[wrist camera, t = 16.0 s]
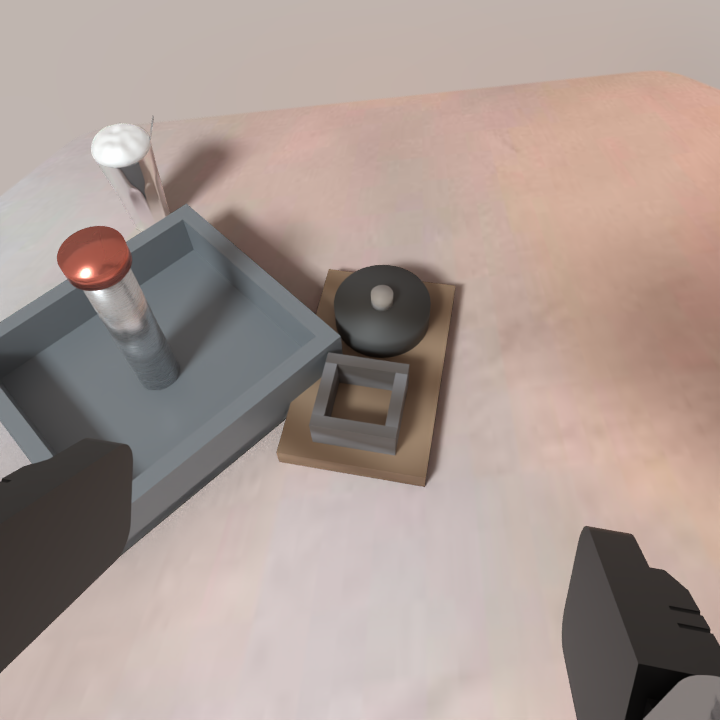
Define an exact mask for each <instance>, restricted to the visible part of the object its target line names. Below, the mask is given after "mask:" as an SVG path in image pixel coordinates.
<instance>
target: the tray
mask: <svg viewBox="0 0 720 720" xmlns="http://www.w3.org/2000/svg"><path fill="white" fill-rule="evenodd" d="M126 244H127V246H128V248H129V250H130V252H131V255H132V265H131V270H132V272H133V274H134V276H135V278H136V280H137V282H138V284H139V286H140V288H141V290H142V292H143V294H144V296H145V298H146V300H147V302H148V304H149V306H150V308H151V310H152V312H153V314H154V316H155V318H156V320H157V322H158V324H159V326H160V328H161V330H162V332H163V334H164V336H165V338H166V340H167V342H168V344H169V346H170V348H171V350H172V352H173V354H174V356H175V358H176V360H177V362H178V364H179V366H180V373H179V376H178V378H177V380H176V381H175V382H174V383H173V384H172V385H171V386H169V387H167V388H165V389H162V390H156V391H155V390H149V389H147V388H145V387H144V386H142V384H141V383H140V381H139V380H138V378H137V377H136V375H135V373H134V372H133V370H132V369H131V367H130V365H129V364H128V362H127V360H126V359H125V357H124V356H123V354H122V352H121V351H120V349H119V348H118V346H117V344H116V343H115V341H114V340H113V338H112V336H111V335H110V333H109V331H108V330H107V328H106V327H105V325H104V323H103V322H102V320H101V319H100V317H99V315H98V314H97V312H96V311H95V309H94V307H93V306H92V304H91V302H90V301H89V299H88V298H87V296H86V294H85V293H84V291H83V290H81V289H78V288H76V287H74V286H73V285H72V284H71V283H70V282H69V281H68V279H67V280H66V281H64V282H63V283H61V284H59V285H58V286H56V287H55V288H53V289H52V290H50V291H48V292H47V293H45V294H44V295H42V296H41V297H39V298H37V299H36V300H34V301H33V302H31V303H30V304H28V305H26V306H25V307H23V308H22V309H20V310H19V311H17V312H15V313H14V314H12V315H11V316H9V317H8V318H6V319H4V320H3V321H1V322H0V421H1V423H2V424H3V425H4V427H5V428H6V429H7V431H8V432H9V433H10V435H11V436H12V437H13V439H14V440H15V441H16V443H17V444H18V446H19V447H20V448H21V450H22V451H23V452H24V454H25V455H26V456H27V458H28V459H29V460H30V462H31V463H32V464H34V463H37V462H41V461H44V460H47V459H50V458H51V457H53V456H55V455H56V454H58V453H60V452H62V451H63V450H65V449H67V448H69V447H70V446H72V445H74V444H75V443H77V442H79V441H81V440H82V439H84V438H94V439H100V440H105V441H111V442H117V443H122V444H127V445H129V447H130V448H131V450H132V454H133V476H132V503H131V526H130V532H129V537H128V540H127V543H126V545H125V548H124V550H123V552H122V553H121V555H122V554H123V553H124V552H126V551H127V550H128V549H129V548H130V547H132V546H133V545H134V544H135V543H136V542H138V541H139V540H140V539H141V538H142V537H144V536H145V535H146V534H147V533H149V532H150V531H151V530H152V529H153V528H155V527H156V526H157V525H158V524H159V523H161V522H162V521H163V520H164V519H165V518H167V517H168V516H169V515H170V514H171V513H173V512H174V511H175V510H176V509H177V508H179V507H180V506H181V505H182V504H184V503H185V502H186V501H187V500H188V499H190V498H191V497H192V496H193V495H194V494H196V493H197V492H198V491H199V490H200V489H202V488H203V487H204V486H205V485H206V484H208V483H209V482H210V481H211V480H213V479H214V478H215V477H216V476H217V475H219V474H220V473H221V472H222V471H223V470H225V469H226V468H227V467H228V466H229V465H231V464H232V463H233V462H234V461H235V460H237V459H238V458H239V457H240V456H242V455H243V454H244V453H245V452H246V451H248V450H249V449H250V448H251V447H252V446H254V445H255V444H256V443H257V442H258V441H260V440H261V439H262V438H263V437H264V436H266V435H267V434H268V433H269V432H271V431H272V430H273V429H274V428H275V427H277V426H278V425H279V424H280V423H281V422H283V421H284V420H285V419H286V417H287V414H288V410H289V407H290V403H291V402H292V401H293V400H294V399H296V398H297V397H298V396H299V395H301V394H302V393H303V392H304V391H305V390H307V389H308V388H309V387H310V386H312V385H313V384H314V383H315V382H316V381H318V380H319V379H320V378H321V377H322V374H323V370H324V366H325V362H326V359H327V355H328V352H329V353H336V354H343V353H342V343H341V336H340V335H339V334H338V333H337V332H335V331H334V330H333V329H332V328H331V327H330V326H328V325H327V324H326V323H325V322H324V321H323V320H321V319H320V318H319V317H318V316H317V315H316V314H314V313H313V312H312V311H311V310H310V309H309V308H307V307H306V306H305V305H304V304H303V303H302V302H300V301H299V300H298V299H297V298H296V297H295V296H293V295H292V294H291V293H290V292H289V291H288V290H286V289H285V288H284V287H283V286H282V285H281V284H279V283H278V282H277V281H276V280H275V279H274V278H272V277H271V276H270V275H269V274H268V273H267V272H265V271H264V270H263V269H262V268H261V267H260V266H258V265H257V264H256V263H255V262H254V261H253V260H251V259H250V258H249V257H248V256H247V255H246V254H244V253H243V252H242V251H241V250H240V249H239V248H237V247H236V246H235V245H234V244H233V243H232V242H230V241H229V240H228V239H227V238H226V237H225V236H223V235H222V234H221V233H220V232H219V231H218V230H216V229H215V228H214V227H213V226H212V225H211V224H209V223H208V222H207V221H206V220H205V219H204V218H202V217H201V216H200V215H199V214H198V213H197V212H195V211H194V210H193V209H192V208H191V207H190V206H188V205H187V204H185V205H184V206H182V207H180V208H179V209H177V210H176V211H174V212H173V213H171V214H169V215H168V216H166V217H165V218H163V219H162V220H160V221H158V222H157V223H155V224H154V225H152V226H151V227H149V228H147V229H146V230H144V231H143V232H141V233H140V234H138V235H136V236H135V237H133V238H132V239H130V240H129V241H127V242H126ZM121 555H120V556H121ZM120 556H119V557H120Z"/></svg>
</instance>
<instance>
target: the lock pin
mask: <svg viewBox="0 0 720 720" xmlns="http://www.w3.org/2000/svg"><path fill="white" fill-rule="evenodd" d="M57 262H58V265H59V267H60V268H61V270H62V272H63V273H64V275H65V276H66V278H67V279H68V281H69V282H70V283H71V284H72V285H73V286H74V287H76V288H78V289H81V290H83V291H84V293H85V294H86V296H87V298H88V299H89V301H90V302H91V304H92V306H93V307H94V309H95V311H96V312H97V314H98V315H99V317H100V319H101V320H102V322H103V323H104V325H105V327H106V328H107V330H108V331H109V333H110V335H111V336H112V338H113V340H114V341H115V343H116V344H117V346H118V348H119V349H120V351H121V352H122V354H123V356H124V357H125V359H126V360H127V362H128V364H129V365H130V367H131V369H132V370H133V372H134V373H135V375H136V377H137V378H138V380H139V381H140V383H141V384H142V386H144V387H145V388H147V389H149V390H155V391H156V390H162V389H165V388H167V387H169V386H171V385H172V384H173V383H174V382H175V381H176V380H177V378H178V376H179V373H180V366H179V364H178V362H177V360H176V358H175V356H174V354H173V352H172V350H171V348H170V346H169V344H168V342H167V340H166V338H165V336H164V334H163V332H162V330H161V328H160V326H159V324H158V322H157V320H156V318H155V316H154V314H153V312H152V310H151V308H150V306H149V304H148V302H147V300H146V298H145V296H144V294H143V292H142V290H141V288H140V286H139V284H138V282H137V280H136V278H135V276H134V274H133V272H132V270H131V265H132V255H131V252H130V250H129V248H128V246H127V244H126V242H125V240H124V238H123V236H122V235H121V234H120V233H119V232H118V231H117V230H115V229H113V228H110V227H105V226H94V227H88V228H85V229H82V230H80V231H77V232H76V233H74V234H72V235H71V236H70V237H68V238H67V239H66V240H65V241H64V242H63V244H62V245H61V247H60V248H59V251H58V254H57Z"/></svg>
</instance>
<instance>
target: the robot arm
mask: <svg viewBox="0 0 720 720" xmlns="http://www.w3.org/2000/svg"><path fill="white" fill-rule="evenodd" d="M132 476H133V454H132V450H131V448H130V447H129V445H127V444H122V443H117V442H111V441H105V440H100V439H94V438H84V439H82V440H81V441H79V442H77V443H75V444H74V445H72V446H70V447H69V448H67V449H65V450H63V451H62V452H60V453H58V454H56V455H55V456H53V457H51V458H50V459H47V460H44V461H41V462H37V463H34V464H30V465H27V466H24V467H22V468H20V469H18V470H17V471H15V472H13V473H11V474H9V475H8V476H6V477H4V478H2V481H1V482H0V673H1V672H2V671H3V670H4V669H5V668H6V667H7V666H8V665H9V664H10V663H11V662H12V661H13V660H14V659H15V658H16V657H17V656H18V655H19V654H20V653H21V652H22V651H23V650H24V649H25V648H26V647H27V646H29V645H30V644H31V643H32V642H33V641H34V640H35V639H36V638H37V637H38V636H39V635H40V634H41V633H42V632H43V631H44V630H45V629H46V628H47V627H48V626H49V625H50V624H51V623H52V622H53V621H54V620H55V619H56V618H57V617H58V616H59V615H60V614H61V613H62V612H64V611H65V610H66V609H67V608H68V607H69V606H70V605H71V604H72V603H73V602H74V601H75V600H76V599H77V598H78V597H79V596H80V595H81V594H82V593H83V592H84V591H85V590H86V589H87V588H88V587H89V586H90V585H91V584H92V583H93V582H94V581H95V580H96V579H97V578H98V577H100V576H101V575H102V574H103V573H104V572H105V571H106V570H107V569H108V568H109V567H110V566H111V565H112V564H113V563H114V562H115V561H116V560H117V559H118V558H119V556H120V555H121V553H122V552H123V550H124V548H125V545H126V543H127V540H128V537H129V532H130V526H131V503H132ZM562 648H563V654H564V658H565V663H566V668H567V673H568V678H569V683H570V688H571V693H572V697H573V702H574V707H575V712H576V717H577V720H720V645H719V643H718V642H717V640H716V638H715V636H714V635H713V634H711V633H710V628H709V626H708V624H707V622H706V621H705V619H704V617H703V616H701V615H700V610H699V608H698V607H697V605H696V603H695V601H694V600H693V598H692V596H691V594H690V593H689V591H688V590H687V589H686V588H685V587H684V586H682V585H681V584H680V583H679V582H678V581H677V580H675V579H674V578H673V577H672V576H671V575H670V574H668V573H667V572H666V571H665V570H661V569H656V568H650V567H649V566H648V563H647V561H646V559H645V557H644V555H643V553H642V551H641V549H640V547H639V545H638V543H637V541H636V539H635V537H634V536H633V535H632V534H629V533H623V532H617V531H612V530H606V529H600V528H595V527H589V526H585V527H584V528H583V530H582V532H581V534H580V538H579V542H578V546H577V551H576V556H575V561H574V566H573V570H572V575H571V580H570V585H569V589H568V594H567V599H566V604H565V609H564V614H563V623H562Z"/></svg>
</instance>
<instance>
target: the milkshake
mask: <svg viewBox="0 0 720 720" xmlns="http://www.w3.org/2000/svg"><path fill="white" fill-rule="evenodd" d="M153 120H154V117H153V118H152V124H151V131H150V137H149V135H148V133H147V132H146V131H145V130H144V129H143V128H141V127H139V126H136V125H133V124H127V123H119V124H115V125H110V126H107V127H105V128H103V129H102V130H100V131H99V132H98V133H97V134H96V136H95V137H94V139H93V142H92V146H91V153H92V156H93V158H94V159H95V161H96V163H97V164H98V166H99V168H100V169H101V171H102V172H103V174H104V176H105V177H106V179H107V180H108V182H109V183H110V185H111V186H112V188H113V189H114V191H115V192H116V194H117V196H118V198H119V199H120V201H121V203H122V205H123V206H124V208H125V210H126V211H127V213H128V215H129V217H130V219H131V220H132V222H133V224H134V226H135V227H136V229H137V230H140V231H144V230H146V229H147V228H149V227H151V226H152V225H154V224H155V223H157V222H158V221H160V220H162V219H163V218H165V217H166V216H168V215H169V214H170V211H169V208H168V204H167V200H166V197H165V193H164V190H163V186H162V183H161V179H160V176H159V172H158V168H157V164H156V160H155V156H154V152H153V148H152V144H151V134H152V127H153Z"/></svg>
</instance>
